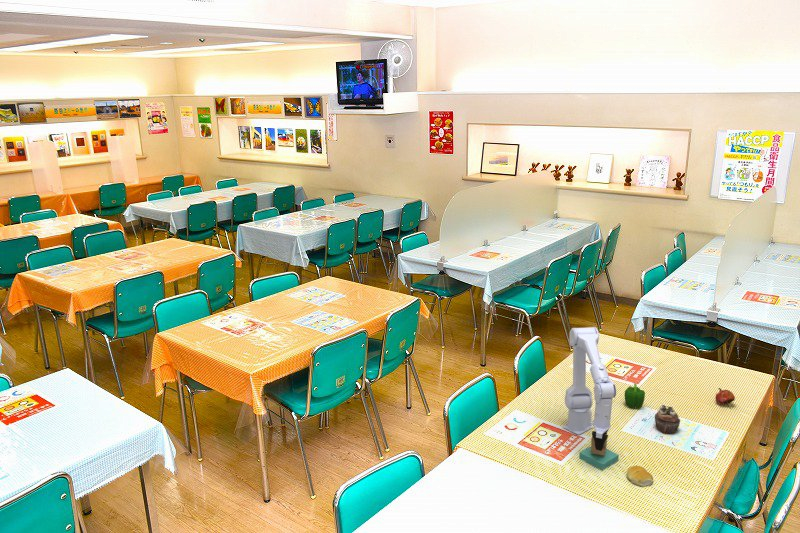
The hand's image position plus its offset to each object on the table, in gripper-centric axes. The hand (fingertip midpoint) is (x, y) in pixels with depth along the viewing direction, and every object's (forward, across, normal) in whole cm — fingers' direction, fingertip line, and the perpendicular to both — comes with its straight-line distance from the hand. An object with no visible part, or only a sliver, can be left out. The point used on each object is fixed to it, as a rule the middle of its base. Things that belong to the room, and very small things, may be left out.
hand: (599, 446), depth 227 cm
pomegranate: (+6, -66, +45) cm, 80 cm away
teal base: (+6, 0, 0) cm, 6 cm away
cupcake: (+6, -34, +22) cm, 41 cm away
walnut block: (+2, 0, 0) cm, 2 cm away
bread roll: (+6, +7, +15) cm, 17 cm away
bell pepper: (+6, -49, +9) cm, 50 cm away
